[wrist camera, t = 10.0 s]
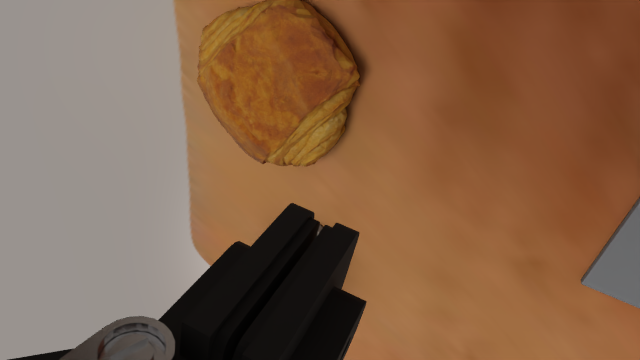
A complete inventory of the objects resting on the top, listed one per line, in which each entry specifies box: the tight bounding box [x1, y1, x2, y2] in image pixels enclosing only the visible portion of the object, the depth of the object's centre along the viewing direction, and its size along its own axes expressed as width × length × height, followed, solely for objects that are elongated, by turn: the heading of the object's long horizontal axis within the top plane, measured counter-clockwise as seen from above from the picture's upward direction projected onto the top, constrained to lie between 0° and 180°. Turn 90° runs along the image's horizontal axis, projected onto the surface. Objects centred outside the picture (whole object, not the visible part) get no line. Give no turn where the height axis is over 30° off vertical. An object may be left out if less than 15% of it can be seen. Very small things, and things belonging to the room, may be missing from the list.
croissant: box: [197, 0, 360, 166], centre depth 42 cm, size 14×16×8 cm
